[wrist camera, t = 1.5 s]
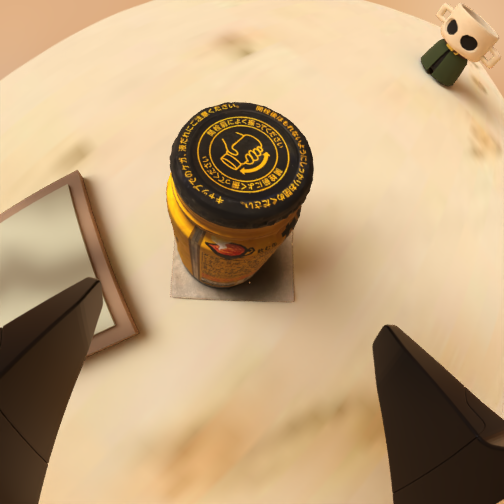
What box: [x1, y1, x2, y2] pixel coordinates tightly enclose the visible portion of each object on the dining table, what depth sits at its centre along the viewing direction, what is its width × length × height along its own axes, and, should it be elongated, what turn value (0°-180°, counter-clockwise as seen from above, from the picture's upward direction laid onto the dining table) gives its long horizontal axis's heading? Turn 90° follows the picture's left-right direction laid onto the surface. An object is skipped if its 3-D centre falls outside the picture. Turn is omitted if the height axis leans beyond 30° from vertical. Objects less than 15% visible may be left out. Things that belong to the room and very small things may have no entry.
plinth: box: [0, 170, 139, 357], centre depth 18 cm, size 13×13×2 cm
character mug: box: [421, 3, 501, 86], centre depth 27 cm, size 11×7×13 cm, turn 34°
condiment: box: [166, 102, 314, 302], centre depth 16 cm, size 7×8×12 cm
